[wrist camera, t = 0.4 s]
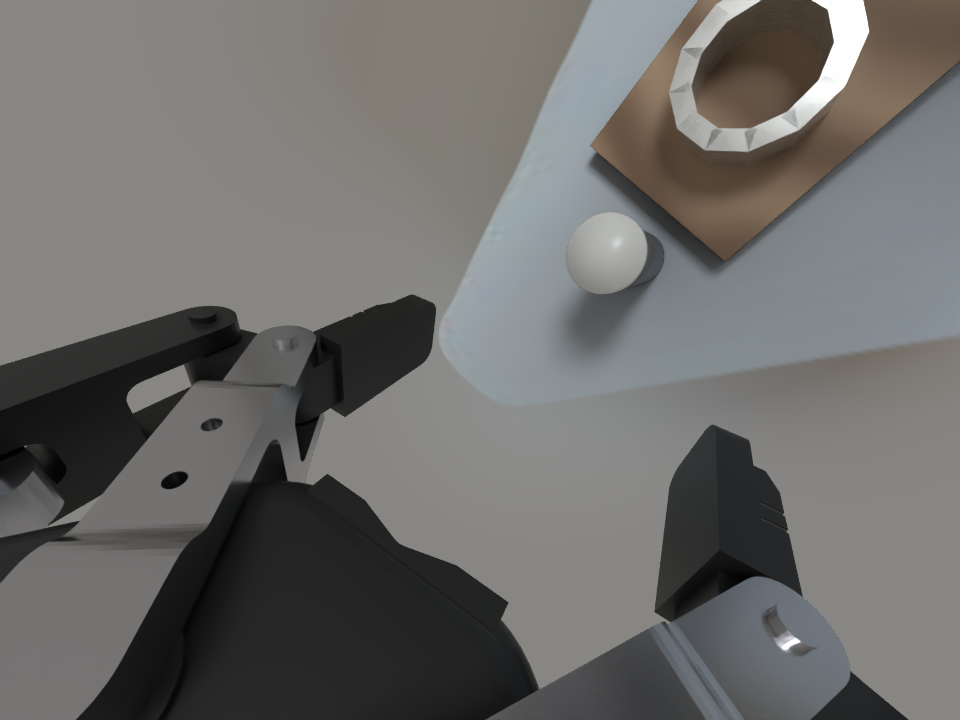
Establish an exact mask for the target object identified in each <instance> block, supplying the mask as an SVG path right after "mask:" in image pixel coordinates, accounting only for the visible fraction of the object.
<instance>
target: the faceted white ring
mask: <svg viewBox="0 0 960 720" xmlns="http://www.w3.org/2000/svg"><path fill="white" fill-rule="evenodd" d="M786 30H793V31H794V32H796V33H797V34H799V35H801V36H802V37H804V38H806V39H807V40H809V41H811V42H812V43H814V44H815V46H816V51H817V56H818V61H819V66H820V71H821V73H820V76H819V78H818V81H817V82H816V83H815V84H814V85H813V86H812V87H811V88H810V89H809V90H808V91H807V92H806V93H805V94H804V95H803V96H802V97H801V98H800V99H799V100H798V101H797V102H796V103H795V104H794V105H793V106H792V107H791V108H790V109H789V110H788V111H787V112H786V113H783V114H781V115H779V116H777V117H775V118H772V119H770V120H768V121H766V122H764V123H762V124H759V125H757V126H755V127H753V128H751V129H744V128H717V127H716V126H715V125H713V124H712V123H711V122H709V121H708V120H706V119H705V118H704V117H702V116H701V115H700V114H698V113H697V109H696V105H697V102H698V99H699V95H700V92H701V89H702V86H703V83H704V80H705V78H706V77H707V75H708V74H709V73H710V72H711V71H712V69H713V68H714V67H715V66H716V65H717V64H718V62H719V61H720V60H721V59H722V58H723V56H724V55H725V54H726V53H727V52H728V51H729V50H731V49H733V48H735V47H736V46H738V45H740V44H741V43H743V42H745V41H747V40H748V39H750V38H752V37H754V36H755V35H757V34H759V33H767V32H777V31H786ZM868 33H869V29H868V24H867V19H866V14H865V8H864V3H863V0H722V1H721V2H719V3H718V4H716V5H715V6H714V8H713V9H712V10H711V12H710V13H709V14H708V15H707V17H706V18H705V19H704V21H703V22H702V23H701V25H700V26H699V27H698V28H697V30H696V31H695V32H694V34H693V35H692V36H691V38H690V39H689V40H688V41H687V43H686V44H685V45H684V47H683V48H682V50H681V53H680V57H679V60H678V64H677V67H676V70H675V74H674V77H673V81H672V84H671V87H670V91H669V96H670V100H671V104H672V109H673V113H674V117H675V122H676V126H677V130H678V132H679V135H680V138H681V140H682V143H683V145H684V146H685V147H687V148H688V149H689V150H691V151H692V152H693V153H694V154H696V155H697V156H698V157H700V158H701V159H702V160H703V161H705V162H706V163H707V164H719V165H739V166H747V165H750V164H752V163H755V162H757V161H759V160H762V159H764V158H767V157H769V156H772V155H774V154H776V153H779V152H781V151H784V150H786V149H789V148H791V147H792V146H793V145H794V144H795V143H796V142H797V141H798V140H799V139H801V138H802V137H803V136H804V135H805V134H806V133H807V132H808V131H809V130H810V129H811V128H812V127H813V126H814V125H815V124H816V123H818V122H819V121H820V120H821V119H822V118H823V117H824V116H825V115H826V114H827V113H828V112H829V111H830V110H831V108H832V107H833V105H834V103H835V102H836V100H837V99H838V97H839V95H840V94H841V92H842V90H843V89H844V87H845V85H846V83H847V81H848V78H849V76H850V74H851V72H852V69H853V67H854V65H855V62H856V60H857V58H858V56H859V53H860V51H861V49H862V46H863V44H864V42H865V39H866V37H867V35H868Z"/></svg>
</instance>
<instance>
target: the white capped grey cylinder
mask: <svg viewBox="0 0 960 720" xmlns="http://www.w3.org/2000/svg"><path fill="white" fill-rule="evenodd" d="M663 262H664V249H663V246H662V244H661V242H660V241H659V240H658V239H657V238H656V237H655V236H654V235H652V234H650V233H648V232H646V231H644V230H642V228H641V227H640V226H639V224H638V223H637V222H635V221H634V220H633V219H631V218H629V217H627V216H625V215H623V214H620V213H613V212H608V213H601V214H598V215H595V216H593V217H591V218H589V219H587V220H586V221H584V222H583V223H582V224H581V225H580V226H579V227H578V228H577V229H576V231H575V232H574V233H573V235H572V237H571V239H570V241H569V243H568V247H567V252H566V264H567V269H568V272H569V274H570V276H571V278H572V279H573V281H574V282H575V283H576V284H577V285H578V286H579V287H580V288H582V289H584V290H585V291H588V292H590V293H594V294H610V293H614V292H618V291H620V290H622V289H624V288H626V287H628V286H634V285H640V284H644V283H646V282H648V281H650V280H651V279H653V278H654V277H655V276H656V275H657V274H658V272H659V271H660V269H661V268H662V265H663Z"/></svg>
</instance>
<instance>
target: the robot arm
mask: <svg viewBox="0 0 960 720" xmlns="http://www.w3.org/2000/svg"><path fill="white" fill-rule="evenodd" d="M435 315H436V307H435V305H434V304H433V303H432V302H429V301H427V300H425V299H422V298H420V297H417V296H415V295H409V296H406V297H404V298H402V299H399V300H397V301H395V302H392V303H387V304H381V305H376V306H374V307H371V308H369V309H366V310H364V312H359V313H357V314H355V315H353V316H352V317H347V318H345V319H343V320H340V321H338V322H335V323H333V324H331V325H328V326H326V327H324V328H321V329H319V330H317V331H314V332H312V331H311V330H308V329H306V328H303V327H299V326H278V327H273V328H270V329H267V330H264V331H262V332H260V333H259V334H257V333H253V332H249V331H245V330H241V329H240V328H239V323H238V320H237V315H236V313H235V312H234V311H232V310H231V309H228V308H224V307H218V306H201V307H194V308H190V309H186V310H182V311H179V312H176V313H173V314H169V315H166V316H163V317H159V318H156V319H153V320H150V321H146V322H143V323H140V324H136V325H133V326H130V327H127V328H123V329H120V330H117V331H113V332H110V333H107V334H104V335H100V336H97V337H93V338H90V339H87V340H84V341H81V342H77V343H74V344H71V345H67V346H64V347H61V348H57V349H54V350H51V351H47V352H44V353H41V354H37V355H34V356H31V357H28V358H24V359H21V360H18V361H15V362H11V363H8V364H5V365H1V366H0V720H908V719H907V718H906V717H904V716H903V715H902V714H901V713H900V712H898V711H897V710H896V709H895V708H894V707H892V706H891V705H890V704H889V703H888V702H886V701H885V700H884V699H883V698H882V697H880V696H879V695H878V694H877V693H875V692H874V691H873V690H872V689H871V688H869V687H868V686H867V685H866V684H865V683H863V682H862V681H861V680H860V679H859V678H858V677H857V676H856V675H854V674H853V673H852V672H851V671H850V664H849V661H848V657H847V654H846V652H845V649H844V647H843V645H842V643H841V641H840V640H839V638H838V636H837V635H836V633H835V632H834V630H833V629H832V628H831V626H830V625H829V623H828V622H827V621H826V620H825V618H824V617H823V616H822V615H821V614H820V613H819V612H818V611H817V610H816V609H815V608H814V607H813V606H812V605H811V604H810V603H809V602H808V601H807V600H805V599H804V598H803V596H802V592H801V587H800V582H799V578H798V574H797V569H796V565H795V560H794V556H793V551H792V546H791V542H790V537H789V534H788V533H786V532H787V530H788V528H787V523H786V519H785V516H783V513H784V510H783V505H782V501H781V496H780V492H779V491H778V489H777V488H776V486H775V485H774V483H773V482H772V480H771V479H770V477H769V476H768V474H767V473H766V472H765V471H764V470H762V469H759V468H757V467H755V466H753V460H752V453H751V447H750V442H749V440H748V439H745V438H743V437H741V436H738V435H736V434H734V433H731V432H729V431H727V430H724V429H722V428H720V427H717V426H715V425H711V426H709V427H708V428H707V429H706V430H705V432H704V433H703V434H702V436H701V437H700V438H699V440H698V441H697V442H696V444H695V445H694V447H693V448H692V449H691V451H690V452H689V453H688V455H687V456H686V457H685V459H684V460H683V461H682V463H681V464H680V465H679V467H678V468H677V470H676V472H675V474H674V476H673V478H672V481H671V484H670V488H669V495H668V504H667V512H666V520H665V528H664V537H663V545H662V554H661V562H660V571H659V579H658V587H657V595H656V603H655V613H657V614H659V615H660V616H662V617H663V618H665V619H667V620H668V621H670V622H671V623H669V624H666V623H665V622H661V623H659V624H657V625H655V626H652V627H651V628H649V629H647V630H645V631H643V632H641V633H640V634H638V635H636V636H634V637H633V638H631V639H629V640H627V641H625V642H624V643H622V644H620V645H618V646H616V647H615V648H613V649H611V650H610V651H608V652H606V653H604V654H602V655H600V656H599V657H597V658H595V659H593V660H592V661H590V662H588V663H586V664H584V665H582V666H581V667H579V668H577V669H575V670H574V671H572V672H570V673H568V674H566V675H565V676H563V677H561V678H559V679H557V680H556V681H554V682H552V683H550V684H548V685H547V686H545V687H543V688H541V689H539V687H538V684H537V682H536V679H535V677H534V674H533V671H532V669H531V666H530V664H529V662H528V660H527V658H526V656H525V654H524V653H523V650H522V649H521V647H520V645H519V644H518V642H517V640H516V639H515V637H514V636H513V634H512V633H511V632H510V630H509V629H508V628H507V626H506V625H505V624H504V623H503V621H502V620H501V618H502V616H503V613H504V611H505V608H506V607H507V604H508V602H507V601H506V600H504V599H503V598H502V597H500V596H499V595H497V594H496V593H494V592H493V591H492V590H490V589H489V588H487V587H486V586H485V585H483V584H482V583H480V582H479V581H478V580H476V579H475V578H473V577H472V576H471V575H469V574H468V573H466V572H465V571H464V570H462V569H461V568H459V567H458V566H456V565H454V564H451V563H448V562H446V561H443V560H440V559H438V558H435V557H432V556H429V555H427V554H424V553H421V552H418V551H415V550H413V549H410V548H407V547H405V546H403V545H401V544H399V543H398V542H397V541H396V540H395V539H394V538H393V537H392V535H391V534H390V533H389V531H388V530H387V529H386V528H385V526H384V525H383V523H382V522H381V521H380V519H379V518H378V517H377V516H376V514H375V513H374V512H373V510H372V509H371V508H370V506H369V505H368V504H367V502H366V501H365V500H364V499H362V498H361V497H359V496H358V495H356V494H355V493H354V492H352V491H351V490H350V489H348V488H347V487H345V486H344V485H343V484H341V483H339V482H338V481H337V480H335V479H334V478H333V477H331V476H330V475H328V474H327V475H325V476H324V477H323V478H322V479H320V480H319V481H318V482H317V483H315V484H314V485H310V484H306V477H307V472H308V469H309V466H310V463H311V459H312V456H313V453H314V450H315V446H316V444H317V441H318V437H319V434H320V431H321V428H322V425H323V422H324V412H325V411H326V410H328V409H329V408H331V409H333V410H334V411H336V412H338V413H339V414H341V415H342V416H344V417H346V416H347V415H349V414H350V413H352V412H353V411H354V410H356V409H357V408H359V407H360V406H362V405H363V404H365V403H366V402H367V401H369V400H370V399H372V398H373V397H374V396H376V395H377V394H379V393H381V392H382V391H383V390H385V389H386V388H388V387H389V386H390V385H392V384H394V383H395V382H396V381H398V380H399V379H401V378H402V377H403V376H405V375H407V374H408V373H409V372H411V371H412V370H414V369H415V368H417V367H418V366H419V365H421V364H422V363H424V362H425V360H426V359H427V358H428V356H429V354H430V351H431V349H432V342H433V333H434V325H435ZM183 364H184V366H185V369H186V371H187V374H188V377H189V380H190V383H191V387H189V388H187V389H185V390H183V391H180V392H178V393H176V394H174V395H172V396H170V397H168V398H165V399H163V400H161V401H159V402H157V403H155V404H153V405H150V406H148V407H146V408H144V409H142V410H140V411H138V412H135V413H133V414H132V412H131V410H130V408H129V406H128V404H127V401H126V398H127V394H128V392H129V391H130V390H131V389H132V387H134V386H135V385H136V384H138V383H140V382H142V381H144V380H147V379H149V378H152V377H154V376H156V375H159V374H161V373H164V372H166V371H169V370H171V369H173V368H176V367H178V366H181V365H183ZM26 445H27V446H26ZM24 446H26V448H25V447H24ZM100 495H101V496H100ZM98 496H100V498H99V499H98V500H97V501H96V503H95V504H94V505H93V506H92V507H91V509H90V510H89V511H88V512H87V513H86V515H85V516H84V517H83V518H82V519H81V521H77V522H72V523H67V524H62V525H58V526H53V527H49V525H50V524H52V523H54V522H55V521H57V520H59V519H61V518H62V517H64V516H65V515H67V514H69V513H71V512H72V511H74V510H76V509H78V508H80V507H81V506H83V505H85V504H86V503H88V502H90V501H92V500H93V499H95V498H97V497H98Z"/></svg>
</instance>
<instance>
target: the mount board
mask: <svg viewBox="0 0 960 720" xmlns="http://www.w3.org/2000/svg"><path fill="white" fill-rule="evenodd" d="M721 1H722V0H698V1H697V3H696V4H695V5H694V7H693V8H692V9H691V11H690V12H689V13H688V15H687V16H686V17H685V19H684V20H683V21H682V23H681V24H680V25H679V27H678V28H677V29H676V31H675V32H674V34H673V35H672V36H671V38H670V39H669V40H668V42H667V43H666V44H665V46H664V47H663V48H662V50H661V51H660V52H659V54H658V55H657V56H656V58H655V59H654V60H653V62H652V63H651V64H650V66H649V67H648V69H647V70H646V71H645V73H644V74H643V75H642V77H641V78H640V79H639V81H638V82H637V83H636V85H635V86H634V87H633V89H632V90H631V91H630V93H629V94H628V95H627V97H626V98H625V99H624V101H623V102H622V104H621V105H620V106H619V108H618V109H617V110H616V112H615V113H614V114H613V116H612V117H611V118H610V120H609V121H608V122H607V124H606V125H605V126H604V128H603V129H602V130H601V132H600V133H599V134H598V136H597V137H596V139H595V140H594V141H593V143H592V144H591V145H590V146H591V147H592V148H593V149H594V150H595V151H596V152H598V153H599V154H600V155H601V156H602V157H603V158H605V159H606V160H607V161H608V162H609V163H610V164H612V165H613V166H614V167H615V168H616V169H617V170H619V171H620V172H621V173H622V174H623V175H624V176H626V177H627V178H628V179H629V180H630V181H631V182H633V183H634V184H635V185H636V186H637V187H638V188H640V189H641V190H642V191H643V192H644V193H645V194H647V195H648V196H649V197H650V198H651V199H653V200H654V201H655V202H656V203H657V204H658V205H660V206H661V207H662V208H663V209H664V210H665V211H667V212H668V213H669V214H670V215H671V216H672V217H674V218H675V219H676V220H677V221H678V222H679V223H681V224H682V225H683V226H684V227H685V228H686V229H688V230H689V231H690V232H691V233H692V234H693V235H695V236H696V237H697V238H698V239H699V240H700V241H702V242H703V243H704V244H705V245H706V246H707V247H709V248H710V249H711V250H712V251H713V252H715V253H716V254H717V255H718V256H719V257H720V258H722V259H723V260H724V261H725V262H726V261H727V260H728V259H729V258H730V257H731V256H733V255H734V254H735V253H736V252H737V251H738V250H740V249H741V248H742V247H743V246H744V245H745V244H747V243H748V242H749V241H750V240H751V239H753V238H754V237H755V236H756V235H757V234H758V233H760V232H761V231H762V230H763V229H764V228H765V227H767V226H768V225H769V224H770V223H771V222H772V221H774V220H775V219H776V218H777V217H778V216H779V215H781V214H782V213H783V212H784V211H785V210H787V209H788V208H789V207H790V206H791V205H792V204H794V203H795V202H796V201H797V200H798V199H799V198H801V197H802V196H803V195H804V194H805V193H806V192H808V191H809V190H810V189H811V188H812V187H813V186H815V185H816V184H817V183H818V182H819V181H821V180H822V179H823V178H824V177H825V176H826V175H828V174H829V173H830V172H831V171H832V170H833V169H835V168H836V167H837V166H838V165H839V164H840V163H842V162H843V161H844V160H845V159H846V158H847V157H849V156H850V155H851V154H852V153H853V152H854V151H856V150H857V149H858V148H859V147H860V146H862V145H863V144H864V143H865V142H866V141H867V140H869V139H870V138H871V137H872V136H873V135H874V134H876V133H877V132H878V131H879V130H880V129H881V128H883V127H884V126H885V125H886V124H887V123H888V122H890V121H891V120H892V119H893V118H894V117H896V116H897V115H898V114H899V113H900V112H901V111H903V110H904V109H905V108H906V107H907V106H908V105H910V104H911V103H912V102H913V101H914V100H915V99H917V98H918V97H919V96H920V95H921V94H922V93H924V92H925V91H926V90H927V89H928V88H930V87H931V86H932V85H933V84H934V83H935V82H937V81H938V80H939V79H940V78H941V77H942V76H944V75H945V74H946V73H947V72H948V71H949V70H951V69H952V68H953V67H954V66H955V65H956V64H958V63H959V62H960V0H863V3H864V8H865V14H866V19H867V24H868V29H869V33H868V35H867V37H866V39H865V42H864V44H863V46H862V49H861V51H860V53H859V56H858V58H857V60H856V62H855V65H854V67H853V69H852V72H851V74H850V76H849V78H848V81H847V83H846V85H845V87H844V89H843V90H842V92H841V94H840V95H839V97H838V99H837V100H836V102H835V103H834V105H833V107H832V108H831V110H830V111H829V112H828V113H827V114H826V115H825V116H824V117H823V118H822V119H821V120H820V121H819V122H818V123H816V124H815V125H814V126H813V127H812V128H811V129H810V130H809V131H808V132H807V133H806V134H805V135H804V136H803V137H802V138H801V139H799V140H798V141H797V142H796V143H795V144H794V145H793V146H792V147H791V148H789V149H786V150H784V151H781V152H779V153H776V154H774V155H772V156H769V157H767V158H764V159H762V160H759V161H757V162H755V163H752V164H750V165H747V166H739V165H719V164H707V163H706V162H705V161H703V160H702V159H701V158H700V157H698V156H697V155H696V154H694V153H693V152H692V151H691V150H689V149H688V148H687V147H685V146H684V145H683V143H682V140H681V138H680V135H679V132H678V130H677V126H676V122H675V117H674V113H673V109H672V104H671V100H670V96H669V91H670V87H671V84H672V81H673V77H674V74H675V70H676V67H677V64H678V60H679V57H680V53H681V50H682V48H683V47H684V45H685V44H686V43H687V41H688V40H689V39H690V38H691V36H692V35H693V34H694V32H695V31H696V30H697V28H698V27H699V26H700V25H701V23H702V22H703V21H704V19H705V18H706V17H707V15H708V14H709V13H710V12H711V10H712V9H713V8H714V6H715V5H716V4H718V3H719V2H721ZM820 73H821V71H820V66H819V61H818V56H817V51H816V46H815V44H814V43H812V42H811V41H809V40H807V39H806V38H804V37H802V36H801V35H799V34H797V33H796V32H794V31H793V30H786V31H777V32H767V33H759V34H757V35H755V36H754V37H752V38H750V39H748V40H747V41H745V42H743V43H741V44H740V45H738V46H736V47H735V48H733V49H731V50H729V51H728V52H727V53H726V54H725V55H724V56H723V58H722V59H721V60H720V61H719V62H718V64H717V65H716V66H715V67H714V68H713V69H712V71H711V72H710V73H709V74H708V75H707V77H706V78H705V80H704V83H703V86H702V89H701V92H700V95H699V99H698V102H697V105H696V109H697V113H698V114H700V115H701V116H702V117H704V118H705V119H706V120H708V121H709V122H711V123H712V124H713V125H715V126H716V127H717V128H744V129H751V128H753V127H755V126H757V125H759V124H762V123H764V122H766V121H768V120H770V119H772V118H775V117H777V116H779V115H781V114H783V113H786V112H787V111H788V110H789V109H790V108H791V107H792V106H793V105H794V104H795V103H796V102H797V101H798V100H799V99H800V98H801V97H802V96H803V95H804V94H805V93H806V92H807V91H808V90H809V89H810V88H811V87H812V86H813V85H814V84H815V83H816V82H817V81H818V78H819V76H820Z"/></svg>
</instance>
